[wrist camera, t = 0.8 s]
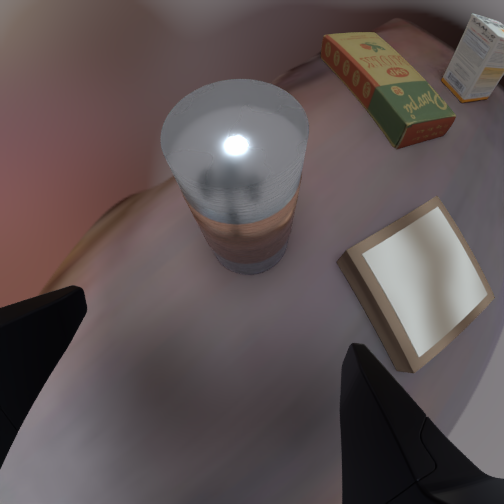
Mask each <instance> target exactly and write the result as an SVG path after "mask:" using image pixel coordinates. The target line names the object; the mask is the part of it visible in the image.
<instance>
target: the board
mask: <svg viewBox="0 0 504 504" xmlns="http://www.w3.org/2000/svg"><path fill="white" fill-rule="evenodd" d="M337 264H338V265H339V267H340V269H341V271H342V272H343V274H344V276H345V277H346V279H347V281H348V282H349V284H350V286H351V288H352V289H353V291H354V293H355V294H356V296H357V298H358V300H359V301H360V303H361V305H362V307H363V309H364V310H365V312H366V314H367V316H368V318H369V319H370V321H371V323H372V325H373V327H374V328H375V330H376V332H377V334H378V336H379V338H380V340H381V341H382V343H383V345H384V347H385V349H386V351H387V353H388V355H389V357H390V359H391V361H392V363H393V364H394V366H395V368H396V370H397V371H401V372H408V373H415V372H416V371H418V370H419V369H420V368H421V367H423V366H424V365H425V364H426V363H428V362H429V361H430V360H431V359H432V358H433V357H435V356H436V355H437V354H438V353H439V352H440V351H442V350H443V349H444V348H445V347H446V346H447V345H448V344H449V343H451V342H452V341H453V340H454V339H455V338H456V337H457V336H458V335H459V334H460V333H461V332H462V331H463V330H464V329H465V328H466V327H467V326H468V325H469V324H470V323H471V322H472V321H473V320H474V319H475V318H476V317H477V316H478V315H479V314H480V313H481V312H482V311H483V310H484V309H485V308H486V307H487V306H488V305H489V304H490V303H491V301H492V300H493V299H494V298H495V297H494V294H493V292H492V290H491V288H490V286H489V284H488V282H487V280H486V278H485V276H484V274H483V272H482V270H481V268H480V266H479V264H478V262H477V260H476V258H475V256H474V254H473V253H472V251H471V249H470V247H469V246H468V244H467V242H466V240H465V239H464V237H463V235H462V233H461V232H460V230H459V228H458V227H457V225H456V224H455V222H454V220H453V219H452V217H451V216H450V214H449V213H448V211H447V209H446V208H445V206H444V205H443V203H442V202H441V200H440V199H439V198H438V196H436V197H434V198H433V199H431V200H429V201H428V202H426V203H425V204H423V205H421V206H420V207H418V208H417V209H415V210H413V211H412V212H410V213H408V214H407V215H405V216H403V217H402V218H400V219H399V220H397V221H395V222H394V223H392V224H390V225H389V226H387V227H385V228H383V229H382V230H380V231H378V232H377V233H375V234H373V235H372V236H370V237H368V238H367V239H365V240H363V241H361V242H360V243H358V244H356V245H354V246H353V247H351V248H349V249H347V250H346V251H345V252H344V254H343V255H342V256H341V257H340V259H339V260H338V261H337Z"/></svg>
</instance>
